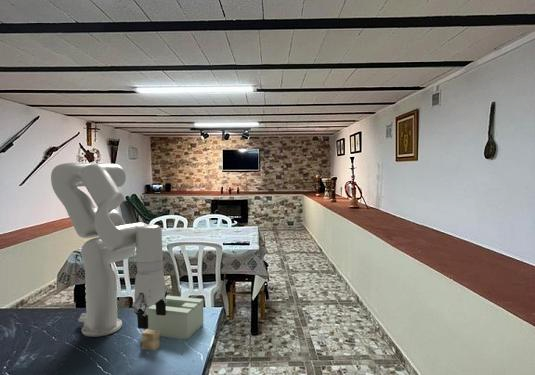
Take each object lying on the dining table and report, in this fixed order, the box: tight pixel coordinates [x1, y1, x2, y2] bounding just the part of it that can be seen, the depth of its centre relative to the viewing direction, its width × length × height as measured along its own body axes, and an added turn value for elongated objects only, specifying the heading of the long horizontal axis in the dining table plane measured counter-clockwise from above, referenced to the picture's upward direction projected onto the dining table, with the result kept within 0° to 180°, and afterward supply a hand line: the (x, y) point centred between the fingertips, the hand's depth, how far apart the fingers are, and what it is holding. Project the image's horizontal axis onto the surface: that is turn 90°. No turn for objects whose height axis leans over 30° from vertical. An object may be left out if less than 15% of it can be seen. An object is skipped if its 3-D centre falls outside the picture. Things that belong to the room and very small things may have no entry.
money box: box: [142, 294, 204, 341], centre depth 121 cm, size 16×12×9 cm
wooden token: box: [141, 329, 160, 351], centre depth 109 cm, size 4×2×5 cm, turn 76°
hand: (152, 321), depth 108 cm, fingers open, 9 cm apart
